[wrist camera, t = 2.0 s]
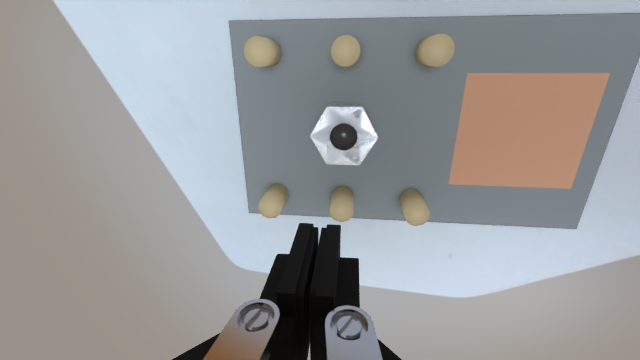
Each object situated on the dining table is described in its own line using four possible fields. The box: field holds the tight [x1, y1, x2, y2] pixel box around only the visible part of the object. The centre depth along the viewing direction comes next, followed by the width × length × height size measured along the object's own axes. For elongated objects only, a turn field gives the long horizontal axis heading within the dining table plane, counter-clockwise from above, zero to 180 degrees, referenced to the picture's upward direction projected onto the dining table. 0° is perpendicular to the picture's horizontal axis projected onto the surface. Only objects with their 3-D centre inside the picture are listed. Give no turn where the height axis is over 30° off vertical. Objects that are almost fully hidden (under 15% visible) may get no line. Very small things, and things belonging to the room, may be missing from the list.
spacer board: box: [229, 13, 640, 229], centre depth 31 cm, size 39×22×4 cm, turn 90°
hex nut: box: [310, 103, 378, 165], centre depth 32 cm, size 7×6×3 cm
